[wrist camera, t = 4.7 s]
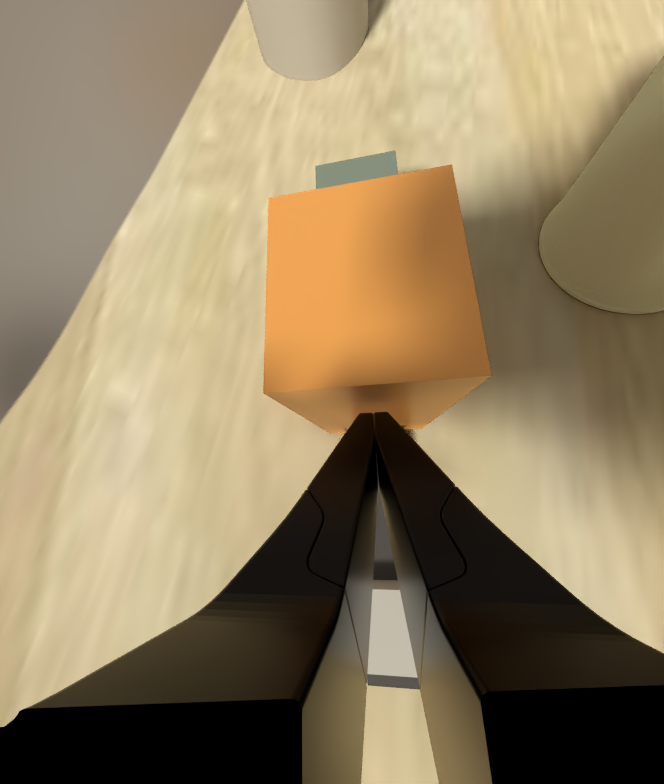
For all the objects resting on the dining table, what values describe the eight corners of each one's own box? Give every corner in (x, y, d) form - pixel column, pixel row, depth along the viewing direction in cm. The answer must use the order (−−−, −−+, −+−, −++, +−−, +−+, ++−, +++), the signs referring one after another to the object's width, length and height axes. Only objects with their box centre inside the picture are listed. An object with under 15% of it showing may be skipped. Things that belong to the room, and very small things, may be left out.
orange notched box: (422, 428, 15) (491, 375, 6) (330, 433, 16) (263, 393, 7) (410, 330, 17) (452, 164, 8) (326, 338, 18) (268, 198, 8)
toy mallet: (466, 660, 13) (516, 773, 8) (321, 651, 14) (293, 748, 9) (409, 223, 20) (420, 145, 15) (312, 238, 21) (293, 170, 16)
